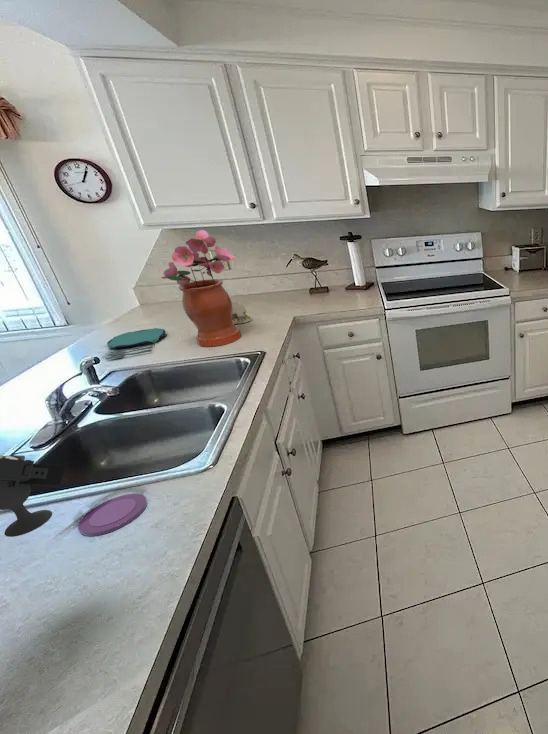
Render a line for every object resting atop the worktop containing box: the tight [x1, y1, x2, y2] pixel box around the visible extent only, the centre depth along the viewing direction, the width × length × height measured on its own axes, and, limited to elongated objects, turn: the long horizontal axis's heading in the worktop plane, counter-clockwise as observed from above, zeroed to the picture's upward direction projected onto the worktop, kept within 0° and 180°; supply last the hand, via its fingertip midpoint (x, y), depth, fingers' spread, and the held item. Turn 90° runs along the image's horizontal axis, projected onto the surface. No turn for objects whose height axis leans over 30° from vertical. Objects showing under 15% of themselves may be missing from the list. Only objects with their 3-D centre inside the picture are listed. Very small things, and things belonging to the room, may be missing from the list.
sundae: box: [0, 454, 53, 538], centre depth 57 cm, size 7×7×15 cm
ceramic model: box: [232, 301, 253, 325], centre depth 194 cm, size 14×11×10 cm
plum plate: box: [77, 493, 148, 537], centre depth 87 cm, size 11×11×1 cm
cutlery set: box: [104, 327, 166, 360], centre depth 173 cm, size 20×30×2 cm, turn 28°
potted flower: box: [160, 229, 242, 348], centre depth 166 cm, size 19×25×45 cm
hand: (31, 478), depth 61 cm, fingers closed on sundae, 7 cm apart
